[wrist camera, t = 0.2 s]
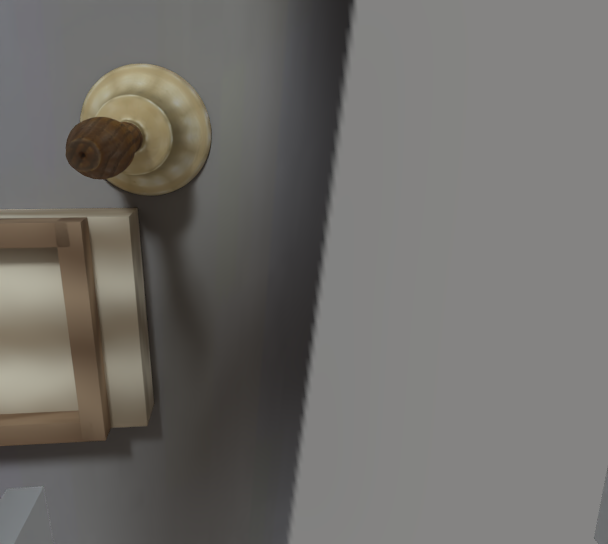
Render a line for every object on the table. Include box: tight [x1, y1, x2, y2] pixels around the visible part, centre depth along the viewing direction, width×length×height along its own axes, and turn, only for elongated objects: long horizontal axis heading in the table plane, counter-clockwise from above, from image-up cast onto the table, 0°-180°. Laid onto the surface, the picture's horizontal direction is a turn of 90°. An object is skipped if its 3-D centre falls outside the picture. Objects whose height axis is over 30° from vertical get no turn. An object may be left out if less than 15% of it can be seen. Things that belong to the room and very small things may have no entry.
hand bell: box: [66, 64, 211, 196], centre depth 28 cm, size 8×8×16 cm
